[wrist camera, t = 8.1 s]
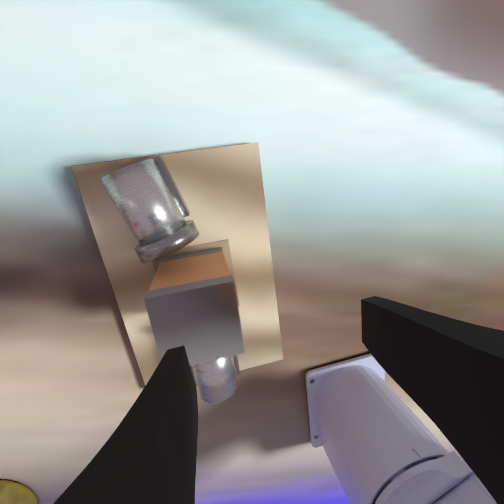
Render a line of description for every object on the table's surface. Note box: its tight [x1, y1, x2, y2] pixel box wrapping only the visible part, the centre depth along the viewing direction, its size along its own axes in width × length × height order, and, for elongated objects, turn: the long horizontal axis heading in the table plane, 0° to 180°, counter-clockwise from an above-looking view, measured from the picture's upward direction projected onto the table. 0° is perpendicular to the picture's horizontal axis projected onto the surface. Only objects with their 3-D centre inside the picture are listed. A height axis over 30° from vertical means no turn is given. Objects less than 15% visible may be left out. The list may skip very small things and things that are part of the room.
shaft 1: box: [100, 155, 199, 263], centre depth 15 cm, size 5×4×5 cm
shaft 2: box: [190, 355, 240, 403], centre depth 18 cm, size 5×4×5 cm
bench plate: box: [71, 142, 283, 386], centre depth 19 cm, size 17×11×1 cm, turn 7°
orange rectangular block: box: [144, 247, 245, 366], centre depth 15 cm, size 4×4×6 cm
